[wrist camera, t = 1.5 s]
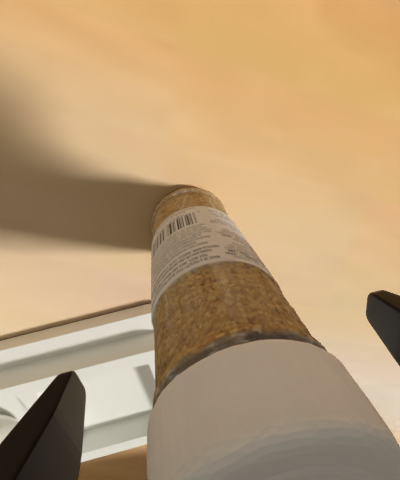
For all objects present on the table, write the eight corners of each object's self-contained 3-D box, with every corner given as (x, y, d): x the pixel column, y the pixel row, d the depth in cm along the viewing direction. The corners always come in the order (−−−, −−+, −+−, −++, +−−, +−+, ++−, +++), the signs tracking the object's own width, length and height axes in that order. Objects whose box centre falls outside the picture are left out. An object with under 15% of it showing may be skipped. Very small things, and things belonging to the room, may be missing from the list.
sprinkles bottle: (170, 267, 18) (209, 606, 6) (136, 204, 16) (82, 531, 4) (237, 237, 18) (422, 524, 6) (211, 170, 15) (414, 396, 3)
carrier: (195, 409, 24) (200, 441, 22) (-17, 466, 23) (-36, 507, 21) (161, 300, 19) (162, 328, 16) (-118, 370, 18) (-159, 410, 15)
